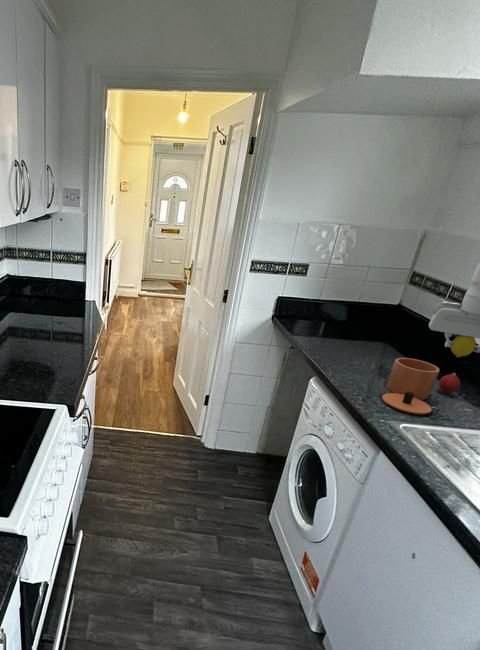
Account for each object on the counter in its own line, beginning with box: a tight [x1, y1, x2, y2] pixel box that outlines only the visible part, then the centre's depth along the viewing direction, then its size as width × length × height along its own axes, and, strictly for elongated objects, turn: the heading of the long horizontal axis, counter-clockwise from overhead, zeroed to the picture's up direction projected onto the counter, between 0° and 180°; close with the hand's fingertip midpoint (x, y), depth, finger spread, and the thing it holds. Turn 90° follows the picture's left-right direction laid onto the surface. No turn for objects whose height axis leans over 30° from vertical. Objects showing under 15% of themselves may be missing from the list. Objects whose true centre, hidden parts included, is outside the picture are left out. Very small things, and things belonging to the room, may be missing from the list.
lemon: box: [450, 335, 477, 358], centre depth 129 cm, size 6×6×8 cm
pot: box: [385, 357, 441, 401], centre depth 146 cm, size 13×13×10 cm
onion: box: [438, 372, 461, 394], centre depth 147 cm, size 6×6×8 cm
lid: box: [381, 392, 433, 415], centre depth 137 cm, size 14×14×5 cm
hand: (461, 349), depth 130 cm, fingers closed on lemon, 5 cm apart
